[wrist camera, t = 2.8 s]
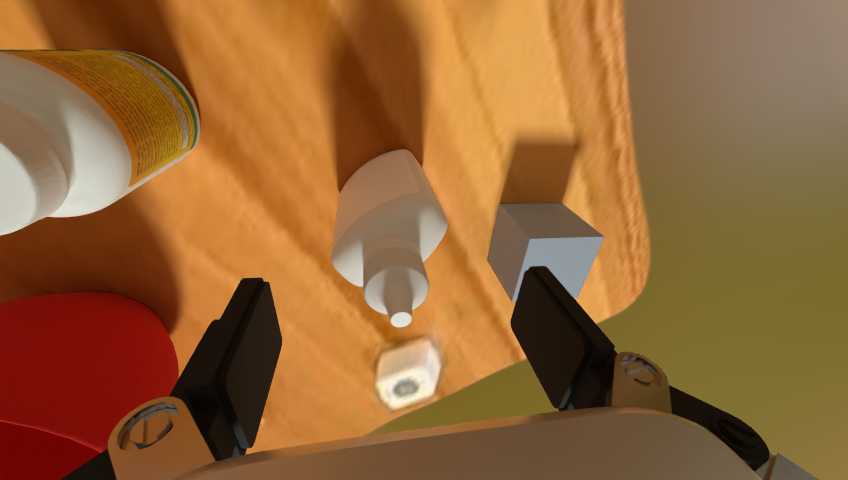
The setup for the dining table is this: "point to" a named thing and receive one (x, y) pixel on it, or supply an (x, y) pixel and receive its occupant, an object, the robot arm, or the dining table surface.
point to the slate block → (542, 245)
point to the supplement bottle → (85, 130)
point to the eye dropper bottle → (388, 233)
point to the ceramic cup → (74, 377)
